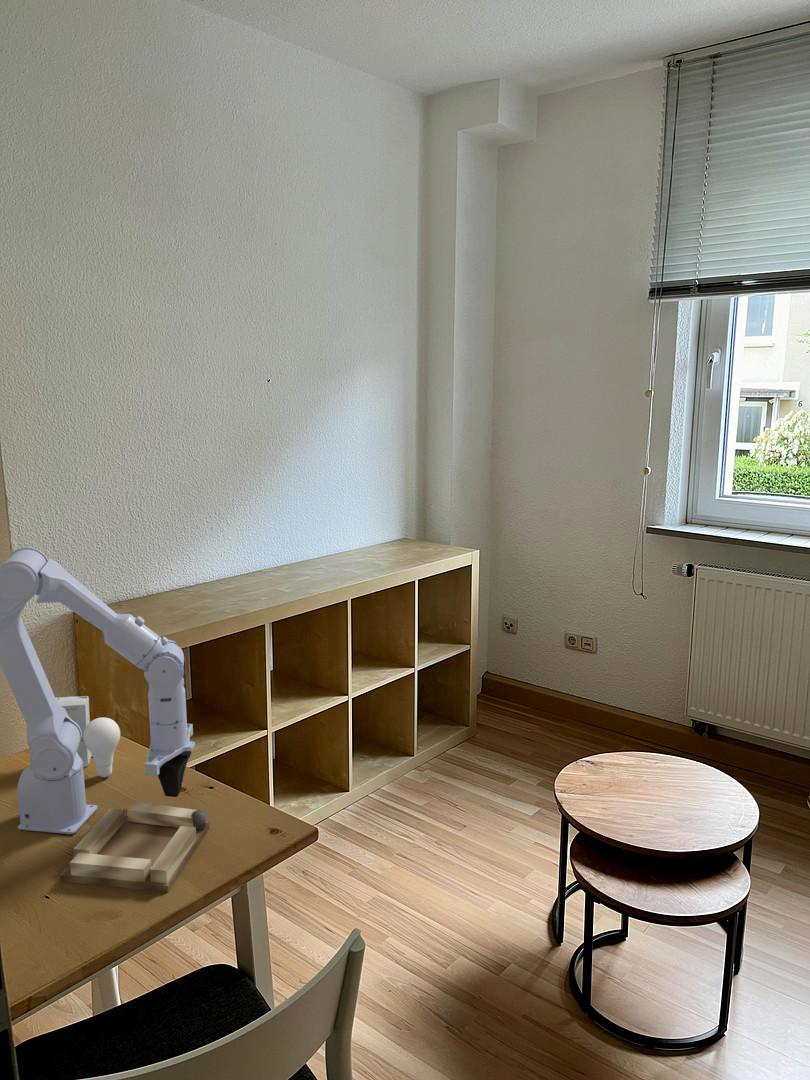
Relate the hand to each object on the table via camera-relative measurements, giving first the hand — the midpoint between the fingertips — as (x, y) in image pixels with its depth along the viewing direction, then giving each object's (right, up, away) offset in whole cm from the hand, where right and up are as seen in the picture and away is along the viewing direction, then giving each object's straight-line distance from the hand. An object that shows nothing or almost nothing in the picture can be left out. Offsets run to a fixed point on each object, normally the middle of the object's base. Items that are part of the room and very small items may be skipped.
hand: (172, 794), depth 139 cm
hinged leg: (+1, -3, -6) cm, 6 cm away
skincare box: (-22, +1, +15) cm, 27 cm away
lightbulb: (-15, 0, +11) cm, 18 cm away
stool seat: (-2, -5, -12) cm, 13 cm away
